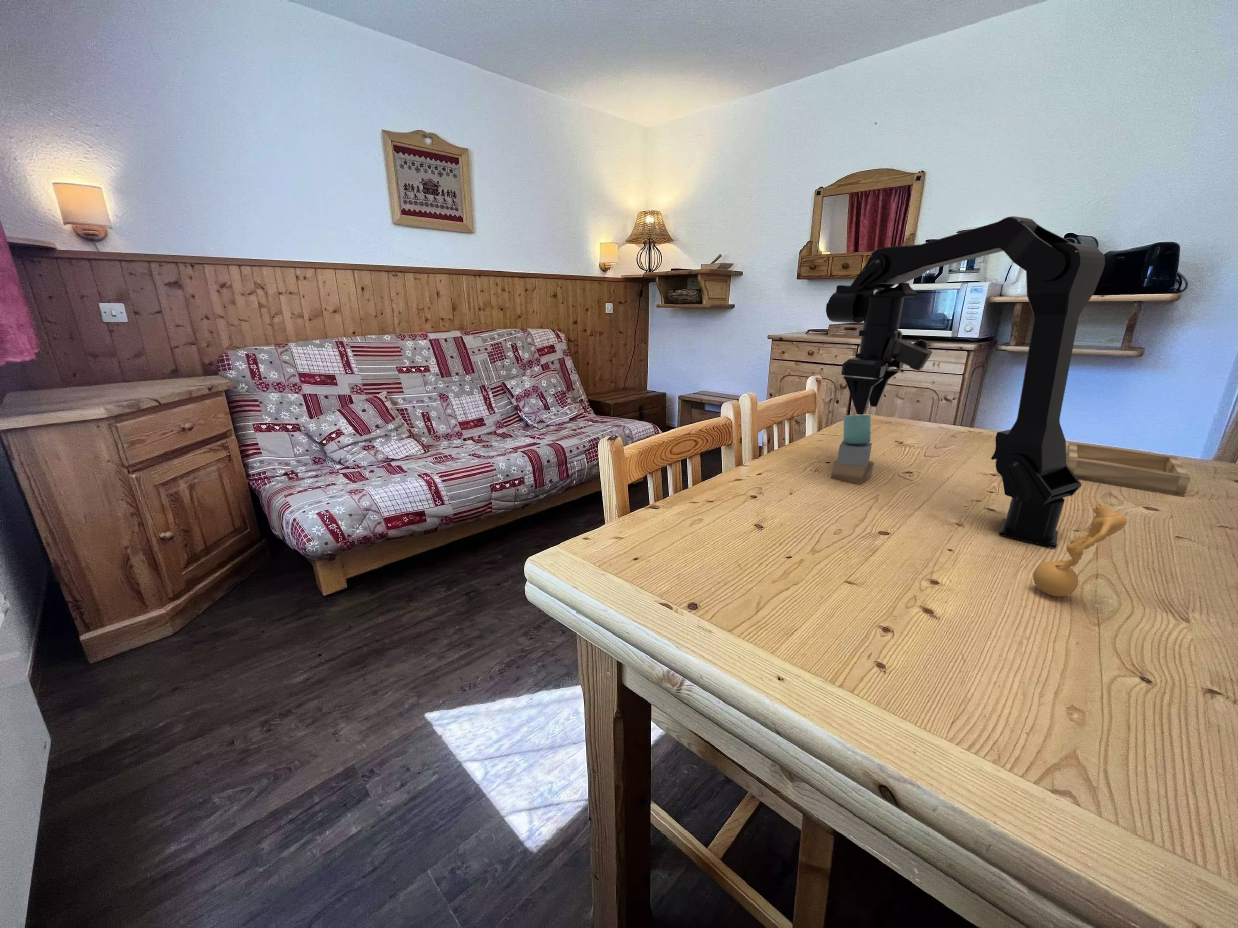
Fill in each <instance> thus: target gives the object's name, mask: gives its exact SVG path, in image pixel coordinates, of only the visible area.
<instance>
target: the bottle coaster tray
mask: <svg viewBox="0 0 1238 928" xmlns="http://www.w3.org/2000/svg"><path fill="white" fill-rule="evenodd" d="M1066 465H1067V466H1068V467H1069V468H1070V470H1071V471H1072V472H1073V474H1074V475H1075V476H1076V477H1077V479H1078V480H1079V481H1080V480H1081V481H1088V482H1093V483H1097V484H1098V483H1099V484H1105V485H1110V486H1116V487H1122V488H1130V489H1136V490H1139V491H1140V490H1141V491H1147V492H1152V491H1153V493H1157V492H1159V493H1158V494H1163V493H1164V494H1163V495H1169V494H1170V496H1175V495H1177V497H1181V496H1182V497H1184V496H1185V494H1186V491H1187V489H1188V486H1189V483H1190V482H1191V478H1192V477H1191V476H1190V474H1189V473H1188V471H1187V470H1186V469H1185V467H1184V465H1183V464H1182V462H1181V461H1180V460H1179V459H1178V457H1177V456H1172V455H1165V454H1157V453H1152V452H1151V453H1150V452H1143V451H1135V450H1128V449H1120V448H1113V447H1106V446H1105V447H1104V446H1098V445H1090V444H1084V443H1083V444H1082V443H1077V442H1076V443H1075V442H1068V446H1067V448H1066Z"/></svg>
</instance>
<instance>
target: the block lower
mask: <svg viewBox="0 0 1238 928" xmlns="http://www.w3.org/2000/svg"><path fill="white" fill-rule="evenodd" d="M837 460H838V459H836V460H834V461H833V462H832V469H831V476H830V479H832V480H835V481H839V482H844V483H849V484H852V485H855V486H862V485H863V484H865V483H866V482H868V481H869V480H871V479H872V475H873V474H872V473H873V469H874V468H873V467H874V464H875V463H874V461H872V460H871V461H870V460H869V462H868V464H867V467H866V468H865V467H858V466H851V465H845V464H838V463H837Z"/></svg>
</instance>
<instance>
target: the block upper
mask: <svg viewBox="0 0 1238 928" xmlns="http://www.w3.org/2000/svg"><path fill="white" fill-rule="evenodd" d="M841 441H842V442H841V443H840V444H839V447H838V453H837V459H836V460H837V463H838V464H845V465H851V466H858V467H865V468H866V467H867V464H868V462H869V461H870V457H871V452H872V451H871V450H872V445H873V443H872V442H869V443H861V444H849V443H844V439H842V440H841Z"/></svg>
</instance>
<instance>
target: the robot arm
mask: <svg viewBox="0 0 1238 928" xmlns="http://www.w3.org/2000/svg"><path fill="white" fill-rule="evenodd" d="M1000 252H1003V253H1005V255H1006V256H1008V258H1009V259H1010V260H1011V261H1012V263H1014V264H1015V265H1016V266H1019V268H1021V269H1022V270H1024V271H1025V276H1026V277H1025V280H1026V281H1025V282H1026V297H1027V299H1028V303H1029V306H1030V308H1031V312H1032V315H1033V321H1032V326H1031V334H1030V339H1029V344H1028V349H1027V350H1028V352H1027V357H1026V363H1025V369H1024V374H1023V375H1024V376H1023V381H1022V388H1021V393H1020V400H1019V403H1018V404H1019V405H1018V411H1017V417H1016V420H1015V423H1014V424H1012V425H1013V426H1011V429H1006V430H1002V431H997V432H996V434H995V449H994V452H993V454H992V456H991V458H990V459H991V460H992V461H993V460H995V470H996V472H997V474H999V475H1000V477H1001V478H1002V484H1003V492H1004V495H1005V496H1006V497H1010V498H1011V500H1010V503H1009V506H1008V507H1009V508H1008V512H1007V514H1006V518H1003V519H1002V521H1001V523H1000V524H1001V525H1000V528H999V530H998V535H1000V536H1002V537H1007V538H1012V539H1015V540H1018V541H1019V540H1020V541H1024V542H1027V543H1028V542H1029V543H1032V544H1036V545H1040V546H1044V547H1049V548H1057V546H1058V530H1057V527H1058V524H1059V521H1060V517H1061V515H1062V510H1063V507H1064V503H1065V501H1066V500H1065V498H1066V497H1072V496H1074V494H1076V492H1077V491H1078V490H1079V489H1080V488H1081V487H1082V483H1081V481H1080V479H1077V477H1076V476H1075V475H1074V474H1073V472H1072V471H1071V470H1070V468H1069V467H1068V466H1067V465H1066V452H1067V445H1066V444H1067V442H1066V437H1065V434H1064V432H1063V429H1062V425H1061V422H1060V421H1061V420H1060V418H1061V414H1062V407H1063V402H1064V398H1065V392H1066V385H1067V380H1068V376H1069V370H1070V365H1071V360H1072V354H1073V350H1074V349H1073V348H1074V345H1075V339H1076V338H1075V337H1076V333H1077V328H1078V323H1079V318H1080V315H1081V313H1082V312H1083V310H1084V309H1085V307H1086V306H1087V304H1088V303H1089V301H1090V300H1091V299H1092V297H1093V295H1094V294H1095V291H1096V289H1097V286H1098V284H1099V282H1100V279H1101V276H1102V275H1103V272H1104V268H1105V265H1106V257H1105V254H1104V252H1102V251H1101V250H1100V249H1098V248H1097V247H1096V246H1094V245H1089V244H1082V243H1073V242H1072V241H1070V240H1068V239H1066V238H1064V237H1062V236H1060V235H1058V234H1057V233H1055V232H1054V233H1053V232H1052V231H1050V230H1049V229H1046V228H1044V227H1043V226H1041V225H1040V224H1038V223H1037V222H1036V221H1034V219H1032V218H1027V217H1021V216H1015V215H1013V216H1007V217H1005V218H1002V219H1001V220H999V221H996V222H992V223H989V224H986V225H982V226H979V227H976V228H972V229H969V230H965V231H962V232H958V233H956V234H951V235H948V236H944V237H942V238H939V239H935V240H931V241H928V242H925V243H921V244H920V243H919V244H910V245H909V244H908V245H896V246H886V247H884V246H883V247H880V248H879V247H878V248H876V249H875V250H873V251H872V252H871V253H870V256H869V258H868V260H867V263H865V265H864V267H863V268H862V269H861V271H860V272H859V274H858V275H857V276H856V277H855V279H854V280H853V282H852V283H851V284H850V285H849V284H844V285H843V284H839V285H836V289H835V292H834V293H833V294H832V295H830V297H829V299H828V302H827V303H826V305H825V312H826V313H825V314H826V316H827V318H828V320H829V321H830V322H833V323H848V324H850V323H851V324H861V323H863V327H862V329H860V330H859V331H858V337H861V338H860V345H859V351H858V352H856V353H855V357H851V358H849V359H847V360H846V361H844V362H843V363H842V364H841V365H842V368H841V376H843V379H844V380H845V383H846V386H847V389H848V391H849V394H850V397H851V401H852V402H853V406H854V409H855V413H856V415H865V412H866V409H867V406H868V403H869V405H870V406H869V407H874V408H875V407H878V405H879V402H880V400H881V398H882V396H883V393H884V391H885V388H886V387H887V384H888V383H889V380H890V379H892V378H893V377H894V376H895V375H897V374H899V373H900V372H901V369H903V368H904V365H905V366H906V365H907V366H908V367H909V368H911V369H913V370H915V371H920V370H922V369H923V368H924V367H925V365H926V363H927V362H928V360H929V359H930V358H931V356H932V354H933V351H932V349H929V343H930V342H929V341H926V340H924V339H921V338H920V339H918V340H917V341H915V342H911V341H906V340H905V339H902V337H903V332H902V330H900V329H899V327H900V322H901V315H902V311H903V305H904V299H905V298H916V297H918V293H917V291H915V289H913V288H912V287H911V285H910V283H909V282H910V281H912V280H914V279H917V278H919V277H921V276H922V275H924V274H925V273H927V272H928V271H930V270H933V269H935V268H940V267H943V266H947V265H951V264H956V263H957V264H958V263H960V262H964V261H969V260H973V259H976V258H977V259H978V258H981V257H985V256H989V255H992V254H997V253H1000ZM895 285H896V286H895ZM893 368H896V369H893Z"/></svg>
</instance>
